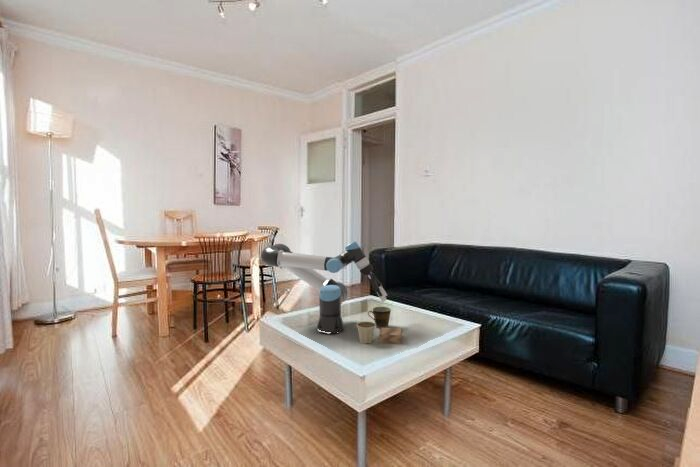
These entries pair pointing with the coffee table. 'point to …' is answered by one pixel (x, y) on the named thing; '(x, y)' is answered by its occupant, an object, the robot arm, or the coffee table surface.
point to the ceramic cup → (381, 316)
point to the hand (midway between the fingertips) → (385, 298)
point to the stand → (390, 335)
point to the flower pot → (366, 331)
